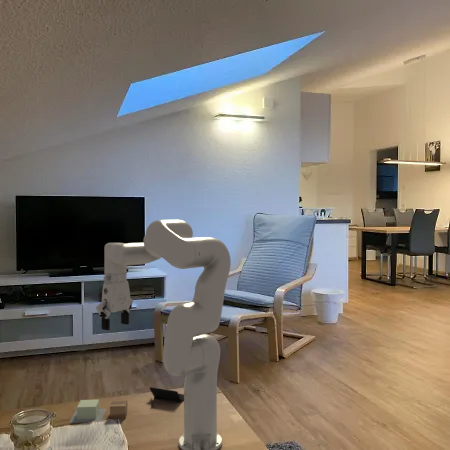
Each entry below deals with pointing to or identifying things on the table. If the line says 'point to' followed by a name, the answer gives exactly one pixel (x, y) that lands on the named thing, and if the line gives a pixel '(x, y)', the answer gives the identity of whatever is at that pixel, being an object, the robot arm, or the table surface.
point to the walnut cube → (118, 409)
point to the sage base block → (88, 409)
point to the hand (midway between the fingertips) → (115, 326)
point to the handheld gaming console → (167, 395)
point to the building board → (99, 418)
